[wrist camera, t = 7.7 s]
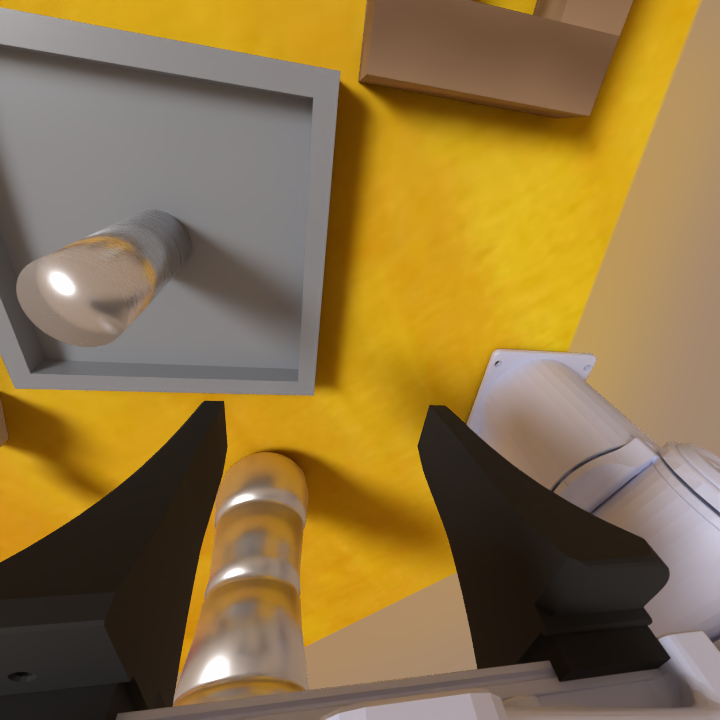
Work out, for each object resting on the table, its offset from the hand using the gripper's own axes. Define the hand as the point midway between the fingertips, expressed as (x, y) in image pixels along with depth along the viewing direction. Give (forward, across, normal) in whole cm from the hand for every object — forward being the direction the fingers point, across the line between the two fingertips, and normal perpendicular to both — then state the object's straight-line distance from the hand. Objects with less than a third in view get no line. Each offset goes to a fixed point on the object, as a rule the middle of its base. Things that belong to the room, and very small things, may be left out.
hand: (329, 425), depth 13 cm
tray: (+10, +8, -3) cm, 13 cm away
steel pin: (+10, +8, -3) cm, 13 cm away
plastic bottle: (+11, +3, +14) cm, 18 cm away
